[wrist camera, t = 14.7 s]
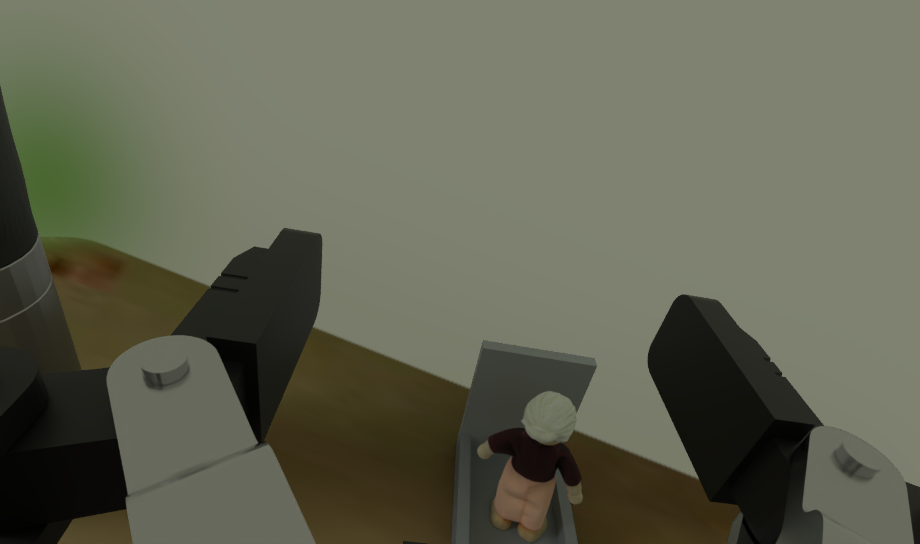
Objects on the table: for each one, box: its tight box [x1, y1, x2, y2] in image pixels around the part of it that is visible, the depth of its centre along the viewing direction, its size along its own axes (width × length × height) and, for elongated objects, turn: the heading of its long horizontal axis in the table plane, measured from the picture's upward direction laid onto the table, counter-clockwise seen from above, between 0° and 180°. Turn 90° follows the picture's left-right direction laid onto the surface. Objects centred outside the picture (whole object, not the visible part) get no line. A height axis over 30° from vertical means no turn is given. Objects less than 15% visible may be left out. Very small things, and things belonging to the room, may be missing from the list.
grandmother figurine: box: [477, 391, 583, 542], centre depth 33 cm, size 8×4×13 cm, turn 79°
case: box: [451, 340, 597, 544], centre depth 34 cm, size 9×13×12 cm
